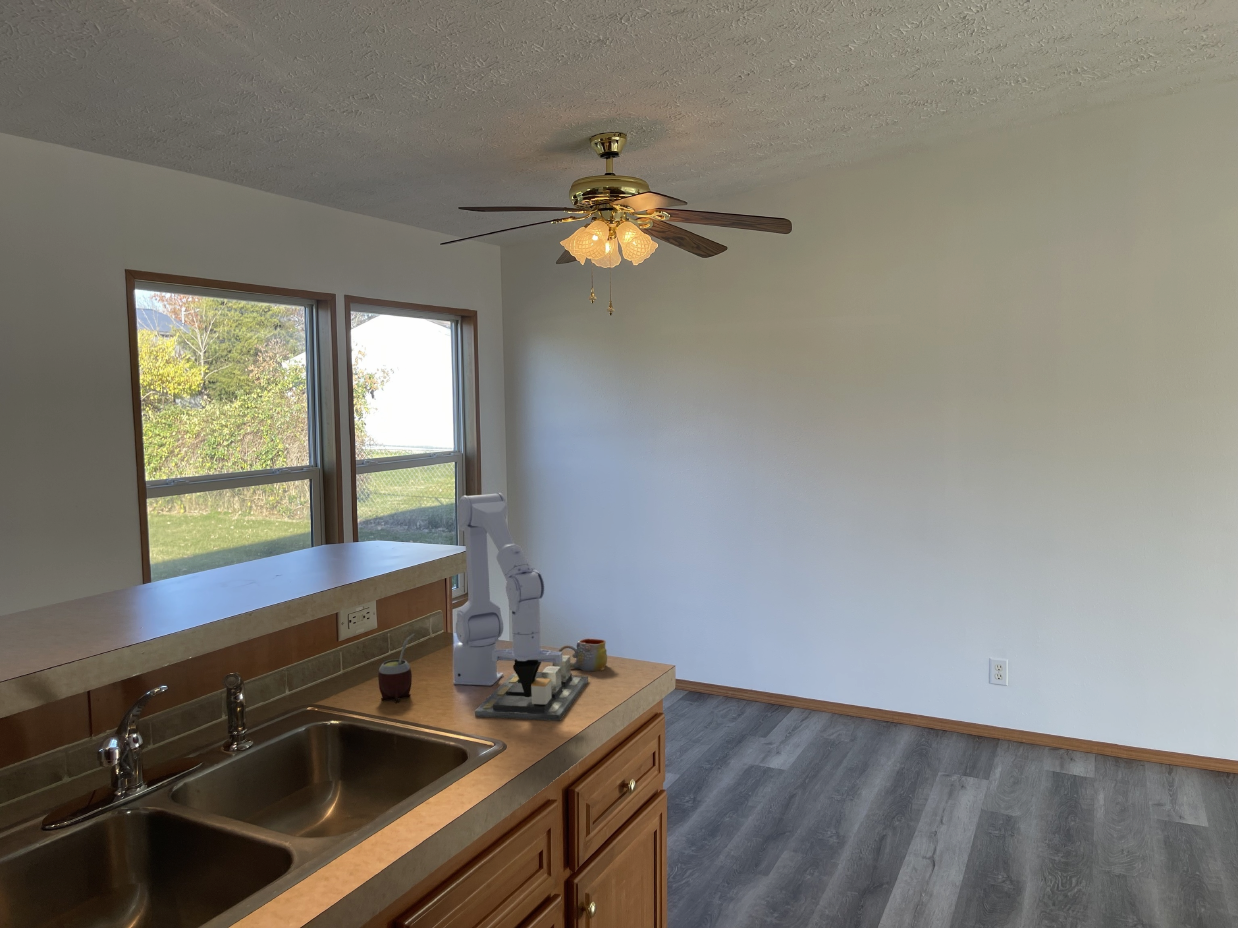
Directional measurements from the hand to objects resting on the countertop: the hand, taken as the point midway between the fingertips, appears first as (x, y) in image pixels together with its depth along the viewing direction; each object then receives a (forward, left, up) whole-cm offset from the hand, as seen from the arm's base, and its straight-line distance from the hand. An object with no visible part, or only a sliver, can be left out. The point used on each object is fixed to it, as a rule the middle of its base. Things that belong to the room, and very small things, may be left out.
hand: (528, 695), depth 171 cm
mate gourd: (-31, +4, -4) cm, 32 cm away
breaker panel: (-1, +8, -3) cm, 9 cm away
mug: (+4, +30, -4) cm, 30 cm away
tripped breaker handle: (+3, 0, -1) cm, 3 cm away
